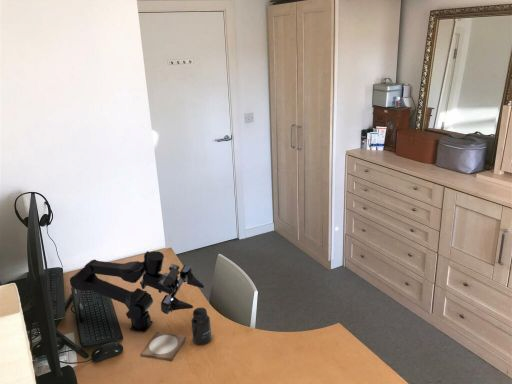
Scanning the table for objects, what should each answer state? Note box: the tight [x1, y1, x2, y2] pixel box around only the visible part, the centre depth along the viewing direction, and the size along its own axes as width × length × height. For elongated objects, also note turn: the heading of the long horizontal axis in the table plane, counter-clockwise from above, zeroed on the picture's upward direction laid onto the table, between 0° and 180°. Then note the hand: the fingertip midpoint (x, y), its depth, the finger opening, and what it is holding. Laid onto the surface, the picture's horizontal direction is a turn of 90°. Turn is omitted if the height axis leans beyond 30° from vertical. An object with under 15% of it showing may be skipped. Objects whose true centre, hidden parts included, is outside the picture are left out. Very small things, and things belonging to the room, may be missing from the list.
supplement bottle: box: [190, 307, 212, 345], centre depth 160 cm, size 7×7×12 cm
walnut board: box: [140, 331, 187, 362], centre depth 159 cm, size 12×12×1 cm
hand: (198, 296), depth 158 cm, fingers open, 9 cm apart
